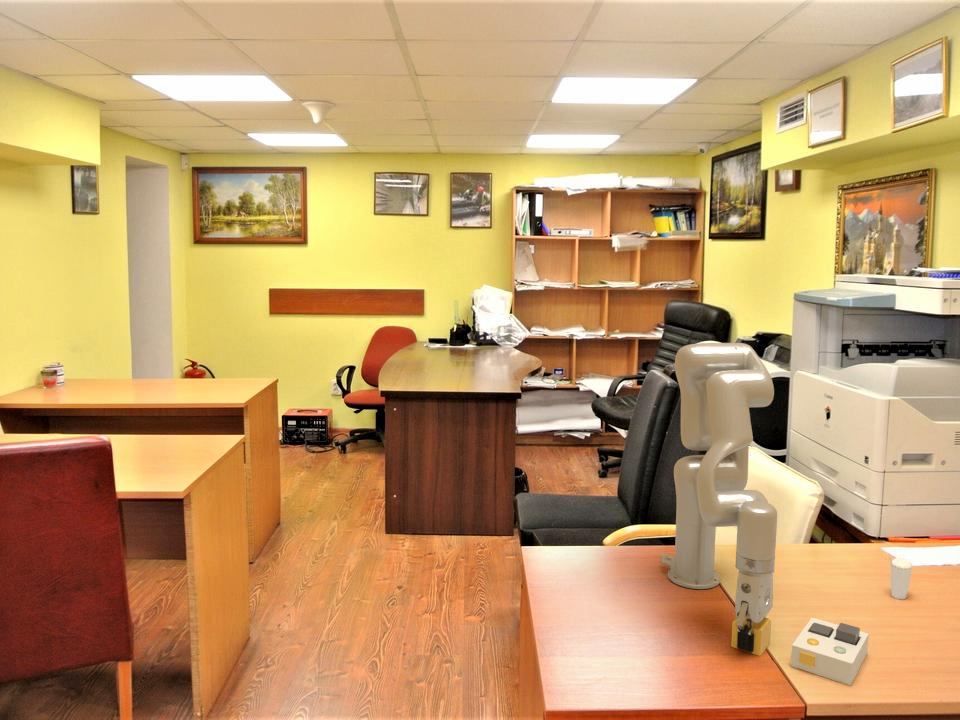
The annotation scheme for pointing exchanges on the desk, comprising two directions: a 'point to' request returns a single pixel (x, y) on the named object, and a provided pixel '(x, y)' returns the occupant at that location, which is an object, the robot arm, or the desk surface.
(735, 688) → the desk surface
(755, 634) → the cap
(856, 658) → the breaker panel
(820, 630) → the button
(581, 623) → the desk surface
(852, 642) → the block
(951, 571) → the desk surface
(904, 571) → the milkshake
